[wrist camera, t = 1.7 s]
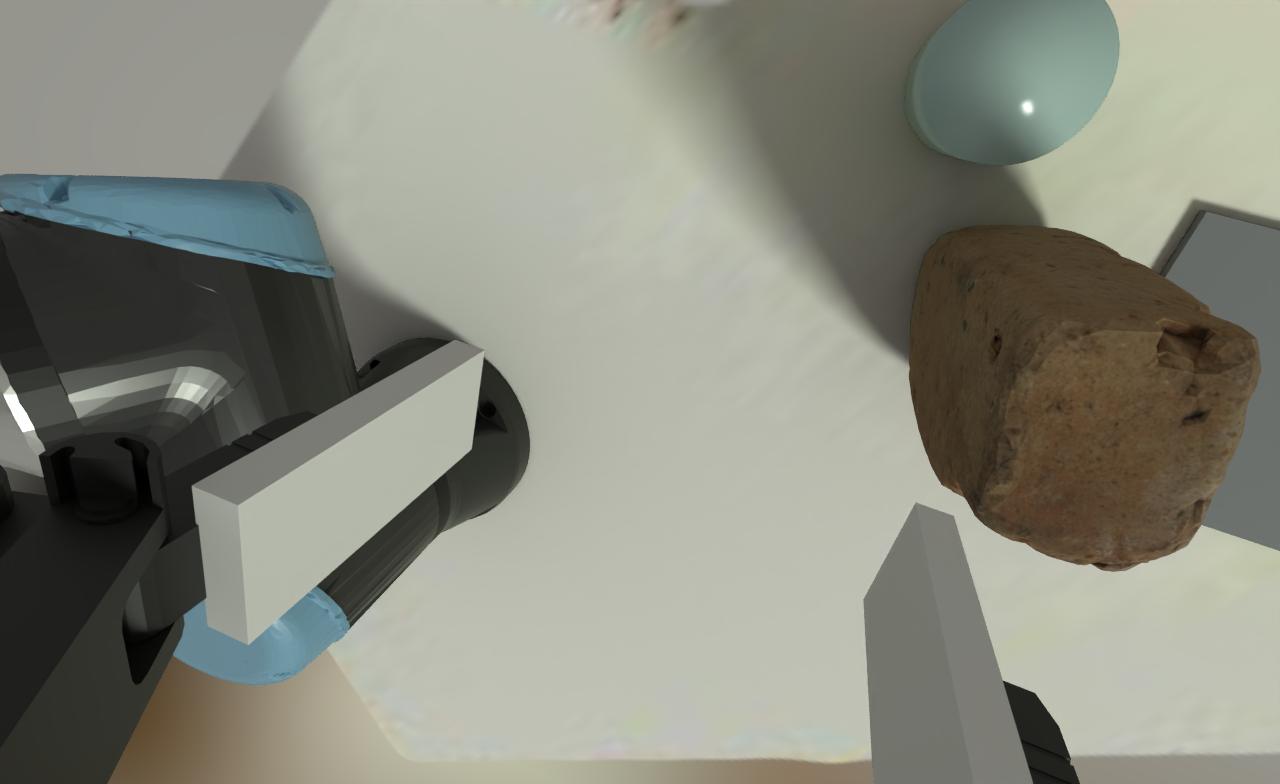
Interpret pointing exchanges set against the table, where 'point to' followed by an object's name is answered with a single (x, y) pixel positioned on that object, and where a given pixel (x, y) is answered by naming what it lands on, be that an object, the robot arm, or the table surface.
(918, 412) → the brown sandstone rock
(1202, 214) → the mat
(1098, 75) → the pale blue rounded cylinder
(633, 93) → the table surface
